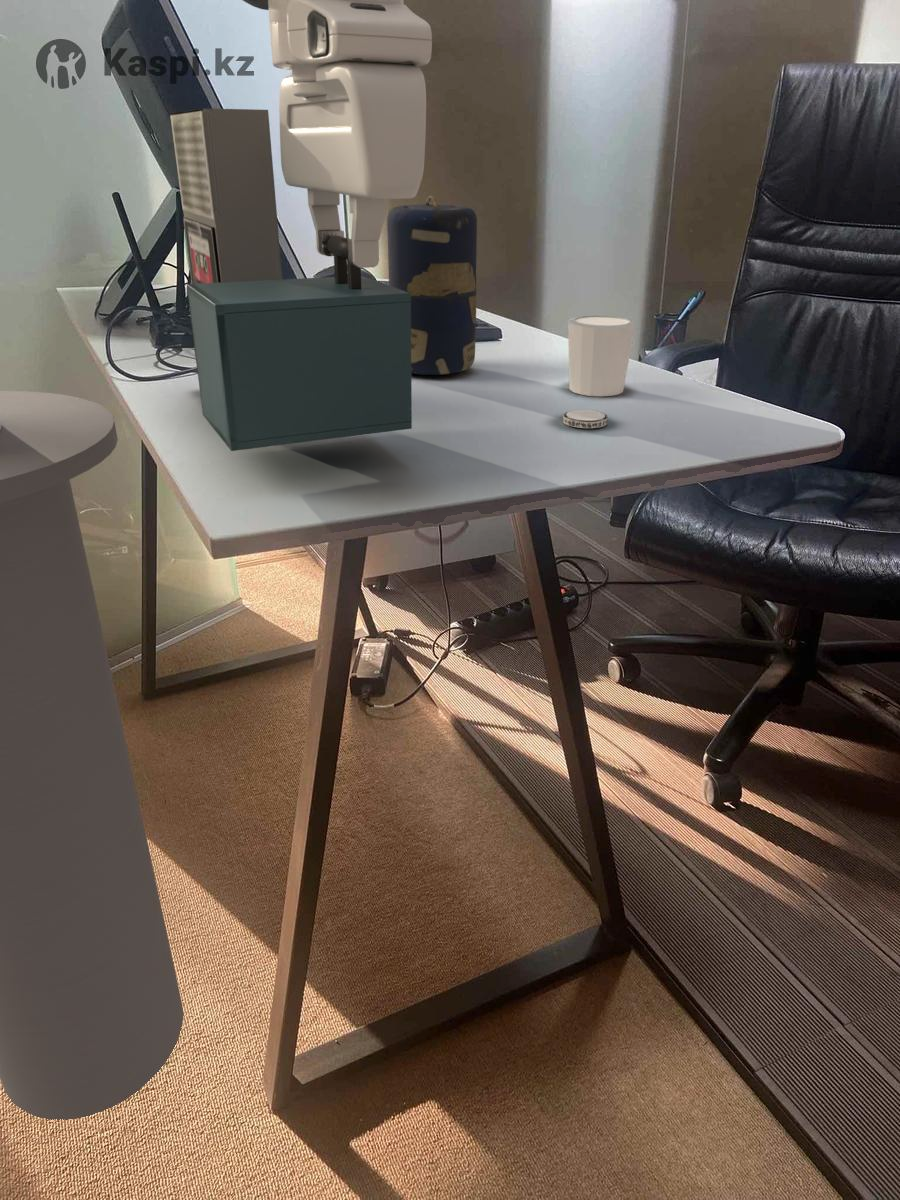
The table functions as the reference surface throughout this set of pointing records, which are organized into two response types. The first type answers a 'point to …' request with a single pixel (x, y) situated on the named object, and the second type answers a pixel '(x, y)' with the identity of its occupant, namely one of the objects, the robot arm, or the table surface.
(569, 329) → the cream cup
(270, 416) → the dark green lidded box
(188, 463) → the table surface
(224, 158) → the beige tall upright block
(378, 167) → the robot arm
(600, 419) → the washi tape
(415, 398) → the table surface
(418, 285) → the canister
